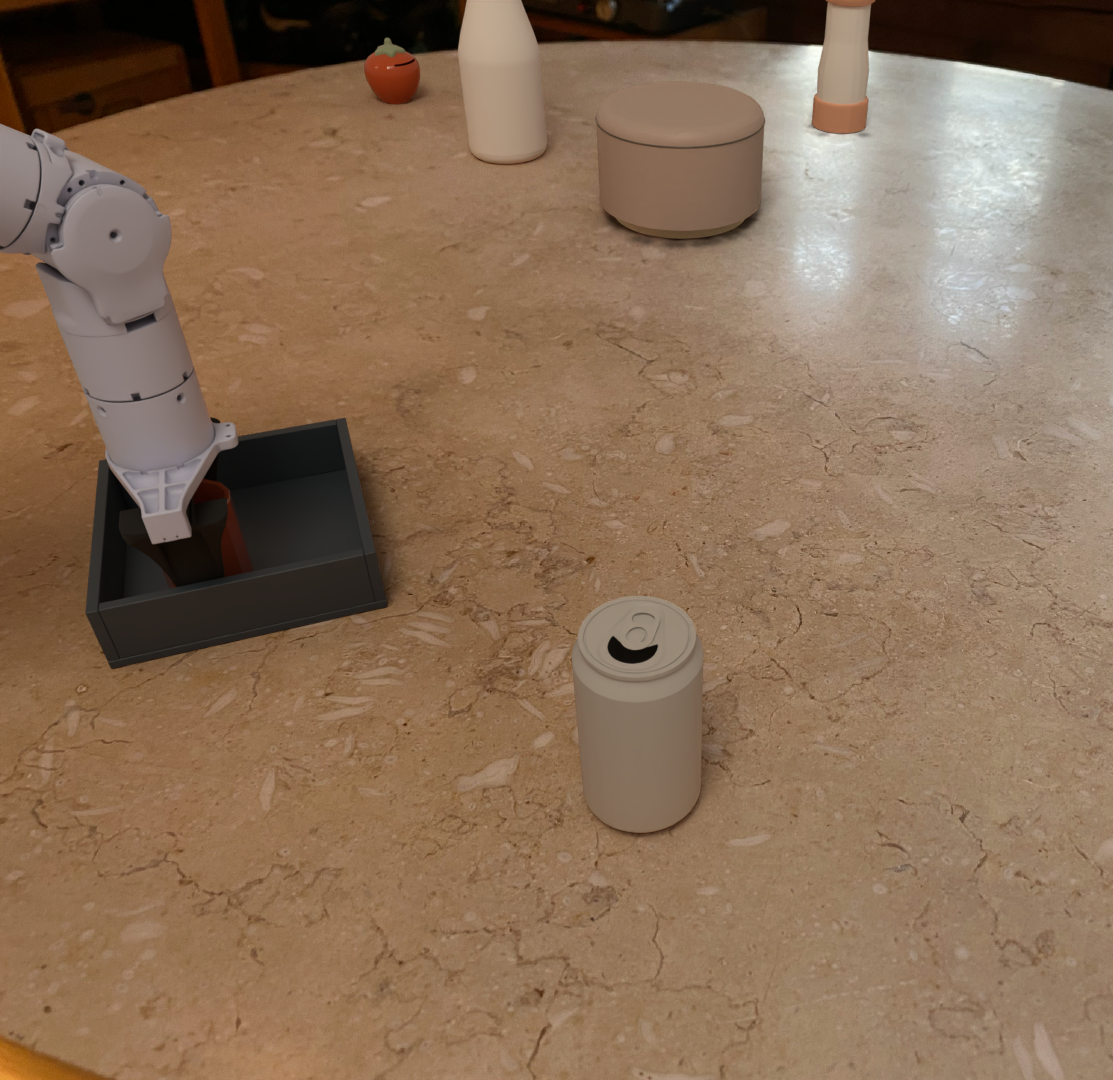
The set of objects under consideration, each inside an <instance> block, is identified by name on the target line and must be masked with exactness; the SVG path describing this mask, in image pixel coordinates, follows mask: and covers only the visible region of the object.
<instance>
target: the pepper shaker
mask: <svg viewBox="0 0 1113 1080" xmlns="http://www.w3.org/2000/svg"><path fill="white" fill-rule="evenodd" d="M825 1H826V2H827V7H826V17H825V18H826V19H825V30H824V40H823V45H822V48H821V54H820V58H819V63H818V68H817V79H816V81H817V82H816V93H815V94H814V96H813V99H812V112H811V113H812V114H811V125H812V127H813V128H815V129H817V130H819V131H822V132H826V133H831V134H853V133H857V132H861V131H864V129H865V128H866V126H867V120H868V109H869V98H868V96H867V91H868V82H869V74H870V59H869V58H870V57H869V33H870V32H869V31H870V21H871V19H870V18H871V8H872V4H873V3H875V2H876V0H825Z"/></svg>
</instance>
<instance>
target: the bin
mask: <svg viewBox="0 0 1113 1080" xmlns="http://www.w3.org/2000/svg"><path fill="white" fill-rule="evenodd" d="M97 466H98V467H97V476H96V477H97V478H96V489H95V499H94V511H93V524H92V533H91V534H92V535H91V545H90V546H91V547H90V557H89V569H88V581H87V588H86V589H87V590H86V599H85V600H86V601H85V611H84V613H85V616H86V618H87V620H88V622H89V624H90V625H89V626H90V627H91V629H92V631H93V634H94V636H95V638H96V639H97V641H98V644H99V646H100V648H101V651H102V652H103V654H104V657H105V659H106V661H107V663H108V666H109V668H110V669H116V668H117V669H118V668H122V667H125V666H130V665H134V664H139V663H144V662H148V661H153V660H156V659H162V658H165V657H170V656H175V655H178V654H184V653H188V652H191V651H197V650H200V649H201V650H202V649H206V648H209V647H214V646H218V645H223V644H228V643H231V642H237V641H241V640H246V639H249V638H254V637H258V636H263V635H267V634H273V633H276V632H281V631H285V630H290V629H293V628H298V627H303V626H307V625H313V624H316V623H320V622H325V621H330V620H334V619H338V618H343V617H348V616H352V615H356V614H360V613H364V612H370V611H373V610H374V611H375V610H378V609H383V608H387V607H388V606H389V604H388V603H389V602H388V599H387V594H386V589H385V587H384V586H385V585H384V582H383V576H382V573H381V568H380V564H379V558H378V554H377V549H376V545H375V541H374V537H373V533H372V528H371V524H370V519H369V514H368V510H367V505H366V501H365V497H364V492H363V487H362V483H361V479H360V475H359V469H358V466H357V462H356V457H355V453H354V448H353V443H352V440H351V434H350V431H349V427H348V422H347V418H346V417H339V418H336V419H329V420H324V421H318V422H313V423H311V422H310V423H305V424H300V425H294V426H289V427H284V428H283V427H282V428H278V429H277V428H276V429H272V430H266V431H260V432H255V433H254V432H253V433H249V434H243V435H238V445H237V446H236V447H234V448H232V449H227V450H223V451H220V452H219V456H218V464H217V482H220V483H222V484H223V485H224V486H225V487H226V488H228V489H229V490H230V494H231V497H232V500H233V503H234V506H235V509H236V512H237V515H238V518H239V521H240V524H241V527H242V531H243V534H244V537H245V540H246V543H247V546H248V549H249V552H250V555H251V558H252V561H253V564H254V568H255V571H252V572H247V573H242V574H238V575H233V576H228V577H223V578H219V579H214V580H209V581H204V582H199V583H195V584H190V585H185V586H180V587H175V588H171V589H169V586H168V584H167V581H166V578H165V576H164V573H163V571H162V568H161V567H160V566H159V565H158V564H157V563H156V562H155V561H153V560H152V559H151V558H150V557H148V556H147V555H145V554H144V553H142V552H141V551H139V550H137V549H135V548H133V547H132V546H129V545H128V544H127V543H126V541H125V540H124V539H123V537H122V535H121V532H120V530H119V517H120V511H125V510H130V509H136V508H140V507H139V506H138V505H137V504H136V502H135V501H134V500H133V498H132V497H131V496H130V494H129V493H128V492H127V490H126V489H125V488H124V486H123V485H122V484H121V482H120V481H119V480H118V479H117V477H116V476H115V475H114V473H113V472H112V471H111V469H110V467H109V465H108V462H107V460H106V458H105V459H99V460H98V465H97Z"/></svg>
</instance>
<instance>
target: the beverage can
mask: <svg viewBox="0 0 1113 1080" xmlns="http://www.w3.org/2000/svg"><path fill="white" fill-rule="evenodd" d="M704 656H705V655H704V648H703V642H702V640H701V638H700V637H699V635H698V633H697V630H696V626H695V623H694V621H693V620H692V618H691V617H690V616H689V614H688V613H687V612H686V611H685V610H684V609H683V608H681V607H680V606H679V605H677V604H675V603H673V602H671V601H669V600H666V599H664V598H660V597H657V596H651V595H627V596H622V597H618V598H614V599H611V600H609V601H606V602H603V603H602V604H600V605H598V606H597V607H596V608H594V609H592V610H591V611H590V612H589V613H588V614H587V615H586V616H585V617H584V619H583V620H582V622H581V624H580V626H579V629H578V633H577V638H576V639H575V641H574V643H573V646H572V650H571V670H572V679H573V680H572V681H573V691H574V692H573V693H574V704H575V705H574V706H575V714H576V715H575V716H576V725H577V737H578V738H577V739H578V749H579V750H578V751H579V761H580V772H581V783H582V785H581V786H582V794H583V797H584V800H585V802H586V805H587V807H588V808H589V810H590V811H591V812H592V814H593V815H594V816H595V817H597V819H599V820H600V821H601V822H603V824H605V825H607V826H609V827H611V828H614V829H615V830H619V831H622V832H627V833H635V834H642V833H643V834H644V833H652V832H657V831H661V830H664V829H667V828H669V827H671V826H673V825H675V824H677V823H678V822H681V820H683V819H684V818H685V817H687V815H688V814H689V813H690V812H691V811H692V809H693V808H694V806H695V805H696V803H697V802H698V799H699V796H700V793H701V789H702V788H701V787H702V752H703V751H702V749H703V703H704V701H703V699H704V698H703V697H704Z"/></svg>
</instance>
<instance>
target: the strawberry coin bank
mask: <svg viewBox="0 0 1113 1080" xmlns="http://www.w3.org/2000/svg"><path fill="white" fill-rule="evenodd" d="M363 67H364V68H363V71H364V72H363V73H364V77H365V79H366V82H367V84H368V86H369V87H370V89H371V91H372V92H373V93H374V94H375V96H377V98H379V99H380V100H381V101H383V102H384V103H386V104H390V105H401V104H405V103H408V102H410V101H412V99H413V98H414V96H415V95H416V94H417V91H418V89H419V86H420V82H421V66H420V64H419V61H418V60H417V58H416V57H415V56H414V55H413V54H412V53H410V52H408V51H406V49H404V48H403V47H401V46H400V45H397V44H393V43H392V40H391V38H389V37H385V38H384V41H383V44H382V45H378V46H377V48H376V49H375V51H374V52H372V53H371V54H370V55H368V56H367V58H366V59H365V61H364V65H363Z"/></svg>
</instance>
